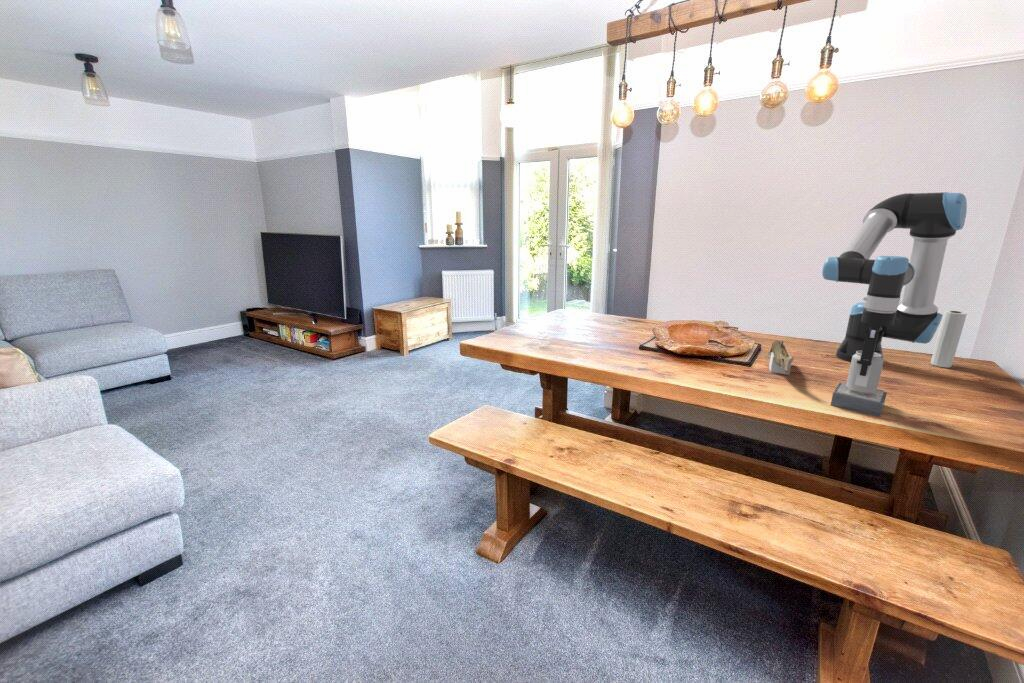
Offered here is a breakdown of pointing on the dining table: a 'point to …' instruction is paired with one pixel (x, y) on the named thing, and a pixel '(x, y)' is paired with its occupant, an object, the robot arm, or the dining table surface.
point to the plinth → (859, 400)
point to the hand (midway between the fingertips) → (863, 379)
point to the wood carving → (779, 358)
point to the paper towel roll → (948, 338)
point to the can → (873, 375)
